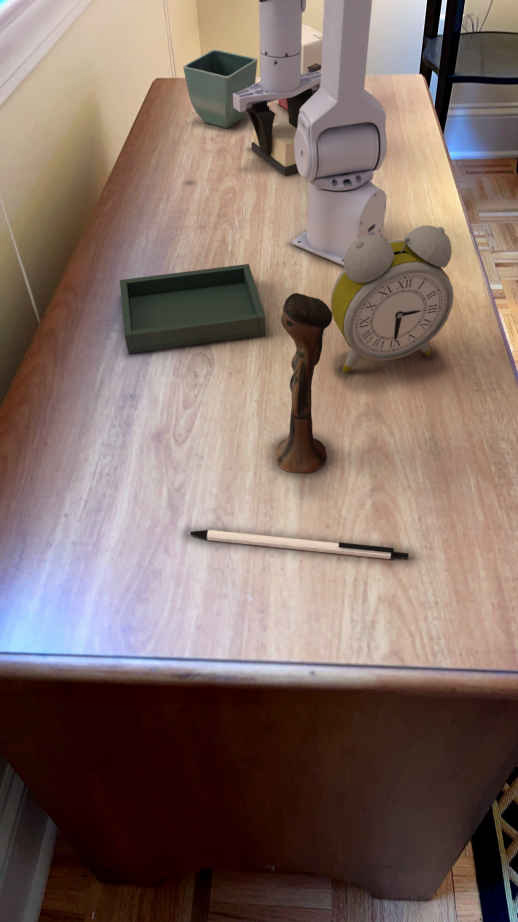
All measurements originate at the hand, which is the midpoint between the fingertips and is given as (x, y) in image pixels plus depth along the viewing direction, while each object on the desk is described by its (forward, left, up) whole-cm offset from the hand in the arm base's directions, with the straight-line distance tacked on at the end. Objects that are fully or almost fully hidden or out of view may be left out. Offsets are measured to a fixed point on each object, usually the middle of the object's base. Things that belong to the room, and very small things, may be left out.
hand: (280, 148), depth 105 cm
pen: (-45, +55, -2) cm, 71 cm away
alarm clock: (-37, +29, -2) cm, 47 cm away
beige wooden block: (0, 0, -2) cm, 2 cm away
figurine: (-39, +46, -2) cm, 60 cm away
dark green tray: (-16, +37, -2) cm, 40 cm away
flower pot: (+16, -5, -2) cm, 17 cm away
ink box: (+8, -16, -2) cm, 18 cm away
